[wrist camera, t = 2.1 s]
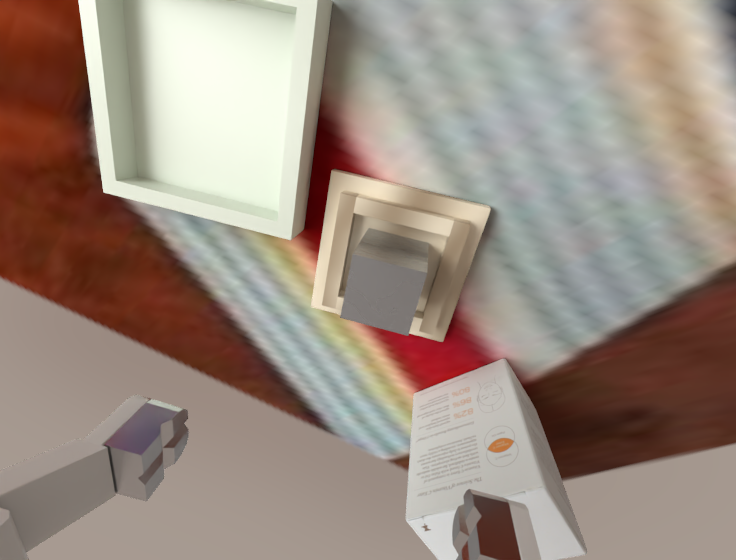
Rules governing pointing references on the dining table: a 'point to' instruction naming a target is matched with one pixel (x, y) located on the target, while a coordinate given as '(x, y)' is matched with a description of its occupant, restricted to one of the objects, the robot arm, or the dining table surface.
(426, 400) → the small box
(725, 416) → the dining table surface
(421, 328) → the socket holder
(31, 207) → the dining table surface
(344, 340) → the dining table surface
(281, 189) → the tray
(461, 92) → the dining table surface
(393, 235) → the gray block
